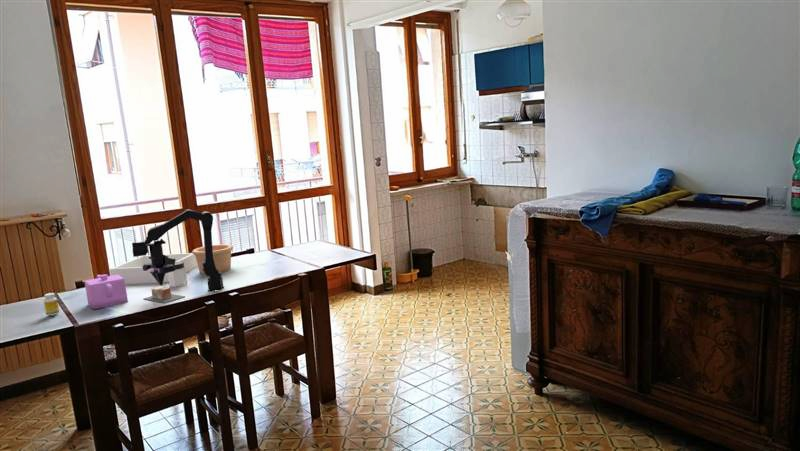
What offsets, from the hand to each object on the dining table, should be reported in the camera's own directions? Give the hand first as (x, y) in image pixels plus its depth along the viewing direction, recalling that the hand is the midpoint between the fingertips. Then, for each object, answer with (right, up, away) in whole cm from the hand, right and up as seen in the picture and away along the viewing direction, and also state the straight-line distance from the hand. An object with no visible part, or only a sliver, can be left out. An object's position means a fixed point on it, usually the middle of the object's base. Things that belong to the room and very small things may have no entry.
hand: (161, 285), depth 281 cm
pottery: (+11, +2, +49) cm, 50 cm away
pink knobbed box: (-26, -9, +1) cm, 28 cm away
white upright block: (-1, -3, +25) cm, 25 cm away
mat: (+1, -6, 0) cm, 7 cm away
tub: (-23, 0, +50) cm, 55 cm away
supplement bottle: (-45, -12, -13) cm, 48 cm away
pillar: (+3, -4, -2) cm, 5 cm away
